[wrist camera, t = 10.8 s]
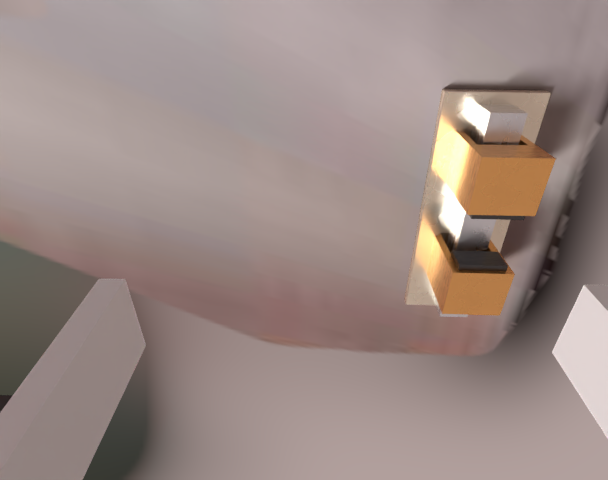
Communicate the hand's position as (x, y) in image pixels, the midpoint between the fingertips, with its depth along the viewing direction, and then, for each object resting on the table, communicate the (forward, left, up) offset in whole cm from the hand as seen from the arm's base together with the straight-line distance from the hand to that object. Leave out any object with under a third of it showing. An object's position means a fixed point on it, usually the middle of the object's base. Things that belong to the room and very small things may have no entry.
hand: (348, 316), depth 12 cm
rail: (+11, +15, -28) cm, 34 cm away
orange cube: (+16, +15, -27) cm, 35 cm away
